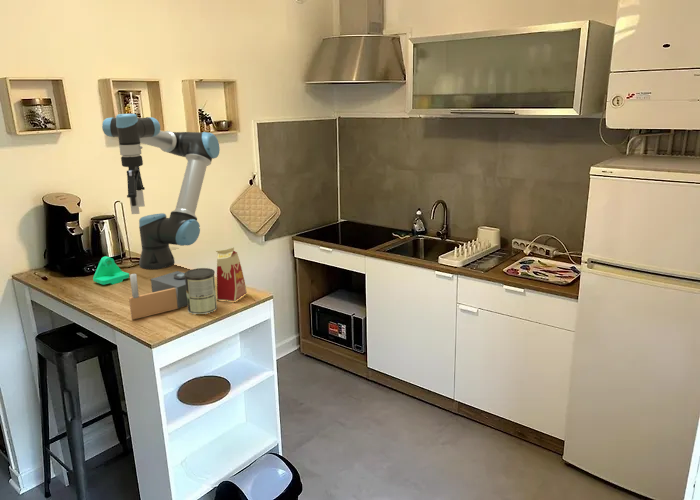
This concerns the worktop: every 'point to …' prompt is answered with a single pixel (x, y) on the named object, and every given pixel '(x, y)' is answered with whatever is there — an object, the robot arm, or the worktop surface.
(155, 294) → the side door
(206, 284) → the coffee can
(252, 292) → the worktop surface
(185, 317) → the worktop surface
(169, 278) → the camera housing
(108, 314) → the worktop surface
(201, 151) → the robot arm
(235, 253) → the red snack bag
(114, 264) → the camera mount
